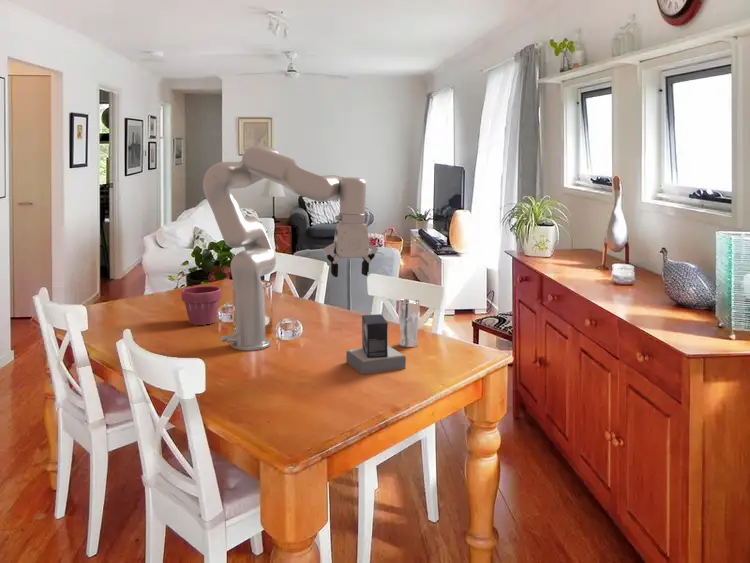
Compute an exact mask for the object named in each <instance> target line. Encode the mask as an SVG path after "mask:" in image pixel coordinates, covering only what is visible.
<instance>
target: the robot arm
mask: <svg viewBox="0 0 750 563" xmlns="http://www.w3.org/2000/svg"><path fill="white" fill-rule="evenodd" d="M265 179H266V180H269V181H271V182H273V183H276V184H279V185H282V186H284V187H285V188H286V189H288V190H289V191H291V192H293V193H294V194H297V195H298V196H301V197H304V198H306V199H309V200H312V201H314V202H320V203H323V202H324V203H325V202H331V201H337V200H339V213H338V215H335V217H334V219H335V221H338V222H337V224H336V228H335V232H334V240H333V243H331V244H329V245H327V246H326V247H324V248H323V249H322V251H323V253H324V255H325V258H326V259H327V260H328V261H329V262H330V273H331V274H332V277H335V278H338V277H339V264H338V262H339V260H340V259H359V258H360V259H361V258H362V262H361V275H364V276H365V277H366V276H367V277H368V273H369V272H370V271H369V270H370V264H371V261H372V260H373V259H374V258H375V257H376V254H377V252H378V251H379V249H378V247H377V246H374V245H373V244H372V243H370V237H369V228H368V224H366V223H365V222H366V220H365V219H366V217H365V216H366V215H365V214H366V197H367V196H366V195H367V194H366V193H367V182H366V180H365V179H364V178H361V177H347V176H346V177H344V176H340V175H334V174H331V175H329V174H328V175H327V174H326V175H319V174H316V173H314V172H311V171H309V170H305V169H303V168H301V167H300V166H299V165H298V164H297V161H296V160H295V159H294V158H290V157H289V156H288V157H287V156H285V155H283V154H280V152H279V151H278V150H277V149H275V148H274V147H271V146H256V145H255V146H251V147H248V148H247V149H245V151H244V152H243V153H242V156H241V160H240V161H221V162H217V163H214V164H213V165H211V166H210V167H209V168H208V169H207V171H206V172H205V174H204V176H203V182H202V187H203V193H204V196H205V198H206V200H207V203H208V204H209V207H210V210H211V211H212V214H213V216H214V219H215V221H216V224H217V226H218V229H219V231H220V234H221V237H222V239H223V241H224V243H225V244H226V245H227V246H228V247H229V248H233V249H238V248H239V249H240V248H244V250H242V251H239V252H237V253H236V254H235V255H234V256H233V257H232V260H231V261H230V274H231V277H232V278H231V279H232V282H233V283H232V284H233V295H234V317H235V318H234V322H235V323H234V325H235V330H234V331H232V333H231V334H230V335H222V336H220V342H222V343H224V342H225V343H228V344H229V343H230V345H231V348H233V349H235V350H237V349H238V351H250V352H251V351H258V350H264V349H266V348H268V347H270V346H271V340H270V339H269V338H266V315H265V314H266V312H265V311H266V310H265V309H266V308H265V307H266V306H265V305H266V304H265V291H264V285H263V282H262V278H261V277H263V276H267V275H268V274H270V273H272V272H273V270H274V269H275V267H276V263H277V260H276V255H275V252H274V249H273V247H272V244H271V241H270V239H269V237H268V234H267V232H266V229H265V226H264V225H263V224H262V223H261V221H260V220H259V219H258V218H256V217H254V216H249V215H247V216H244V214H243V212H242V210H241V207H240V204H239V202H238V200H237V199H236V197H234V195H233V194H232V193H231V190H233V189H242V188H246V187H249V186H252V185H254V184H255V183H256V184H257V183H258V182H259V181H262V180H265ZM332 250H333V256H332V255H331V251H332ZM370 250H371V251H370Z"/></svg>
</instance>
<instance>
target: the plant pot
mask: <svg viewBox="0 0 750 563" xmlns="http://www.w3.org/2000/svg"><path fill="white" fill-rule="evenodd" d="M221 299H222V290H221V287H219V286H215V285H202V286H201V285H198V286H190V287H186V288H183V289H181V301H182V302H184V306H185V311H186V313H187V317H188V320H189V324H190V323H191V324H190V325H192V324H193V325H192V326H197V325H204V326H207V325H206V324H210V325H212V324H211V323H213V324H215V323H216V319H217V315H218V314H217V313H218V307H219V301H220V300H221ZM214 322H215V323H214Z"/></svg>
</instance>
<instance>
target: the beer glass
mask: <svg viewBox="0 0 750 563" xmlns="http://www.w3.org/2000/svg"><path fill="white" fill-rule="evenodd" d="M420 310H421V309H420V300H418V299H415V298H403V299H400V300H399V303H398V322H399V328H400V340H399V346H400V347H402V348H406V347H407V348H408V349H409V348H410V347H412V348H416V347H418V346H419V343H418V336H417V335H418V329H419V325H420V317H421V316H420V315H421V312H420ZM410 349H411V348H410Z"/></svg>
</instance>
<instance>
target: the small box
mask: <svg viewBox="0 0 750 563" xmlns="http://www.w3.org/2000/svg"><path fill="white" fill-rule="evenodd" d="M361 320H362V321H361V332H362V333H361V334H362V336H361V337H362V338H361V341H362V342H361V344H362V345H361V346H362V347H361V348H363V350H364V352H365V354H366V356H367V358H377V357H388V350H387V345H388V325H389V324H388V322H387V320H386V318H385V317H384V316H383V314H381V313H380V314H377V313H376V314H365V315H362V316H361Z"/></svg>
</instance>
